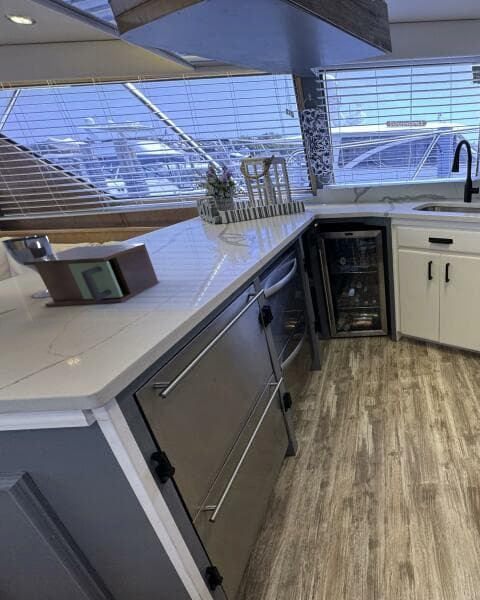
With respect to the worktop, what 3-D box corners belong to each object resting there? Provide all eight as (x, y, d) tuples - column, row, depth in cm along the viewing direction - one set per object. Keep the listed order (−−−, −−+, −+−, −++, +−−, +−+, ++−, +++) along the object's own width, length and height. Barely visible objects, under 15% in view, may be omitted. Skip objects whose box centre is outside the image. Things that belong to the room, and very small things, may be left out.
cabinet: (46, 306, 79) (22, 262, 74) (94, 285, 92) (76, 246, 88) (121, 302, 80) (103, 257, 75) (158, 282, 93) (144, 243, 88)
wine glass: (25, 296, 86) (-5, 241, 80) (62, 286, 93) (37, 234, 87) (40, 299, 83) (10, 242, 77) (78, 289, 90) (53, 235, 84)
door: (68, 306, 75) (50, 269, 72) (86, 298, 80) (70, 262, 76) (107, 304, 76) (90, 267, 72) (123, 296, 80) (108, 260, 77)
